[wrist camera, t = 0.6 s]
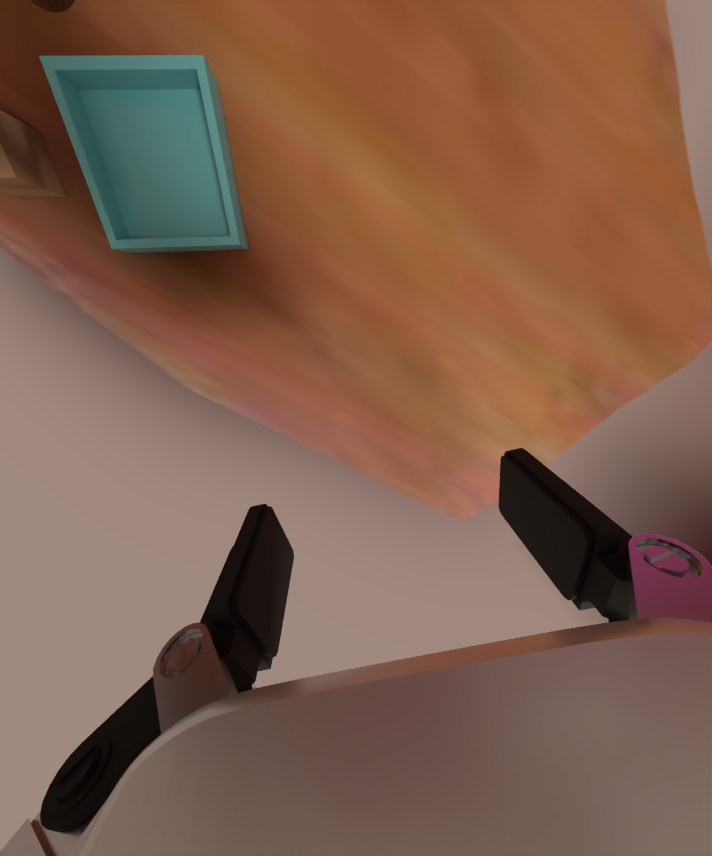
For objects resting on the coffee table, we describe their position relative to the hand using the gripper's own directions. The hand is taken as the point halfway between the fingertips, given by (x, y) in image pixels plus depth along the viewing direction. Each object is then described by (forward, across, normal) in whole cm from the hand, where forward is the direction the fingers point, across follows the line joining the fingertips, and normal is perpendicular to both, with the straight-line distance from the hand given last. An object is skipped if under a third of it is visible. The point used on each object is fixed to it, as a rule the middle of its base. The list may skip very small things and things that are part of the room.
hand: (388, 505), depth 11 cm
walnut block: (+31, +28, -26) cm, 49 cm away
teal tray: (+30, +15, -23) cm, 41 cm away
